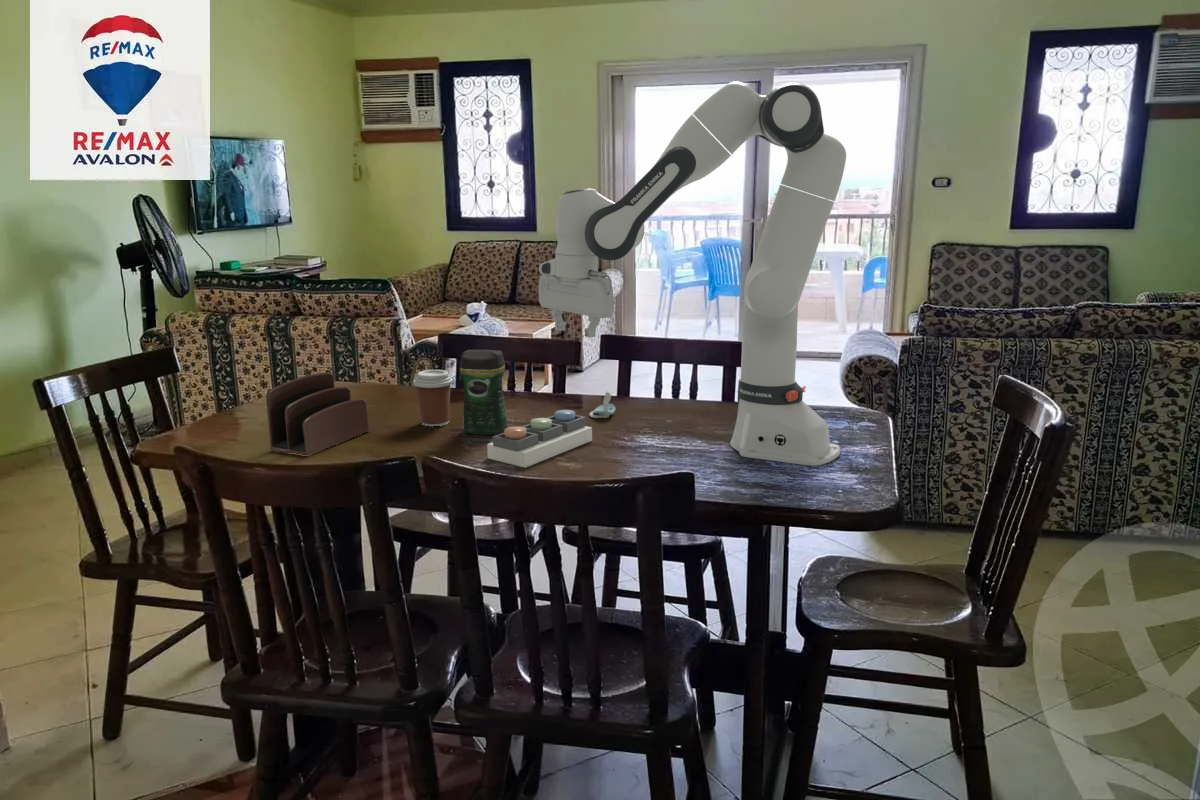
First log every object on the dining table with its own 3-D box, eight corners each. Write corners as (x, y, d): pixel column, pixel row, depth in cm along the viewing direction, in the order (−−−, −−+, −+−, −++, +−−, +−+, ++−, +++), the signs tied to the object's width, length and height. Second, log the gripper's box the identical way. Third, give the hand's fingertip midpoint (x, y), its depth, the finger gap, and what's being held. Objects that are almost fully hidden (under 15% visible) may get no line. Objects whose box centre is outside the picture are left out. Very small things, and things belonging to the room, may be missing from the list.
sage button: (556, 427, 175) (555, 420, 175) (542, 432, 172) (542, 424, 171) (539, 424, 178) (539, 416, 177) (526, 428, 174) (526, 421, 174)
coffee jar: (511, 427, 192) (508, 347, 187) (500, 437, 184) (497, 354, 180) (470, 425, 194) (467, 346, 189) (458, 434, 186) (454, 352, 182)
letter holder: (270, 452, 175) (263, 386, 171) (335, 427, 193) (330, 367, 189) (307, 458, 171) (301, 391, 168) (370, 432, 189) (365, 371, 185)
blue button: (579, 419, 181) (579, 411, 181) (566, 423, 178) (566, 416, 178) (563, 415, 184) (563, 408, 184) (550, 420, 180) (550, 413, 180)
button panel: (592, 440, 182) (592, 418, 180) (524, 467, 164) (523, 443, 163) (556, 432, 187) (556, 411, 186) (487, 458, 170) (486, 434, 169)
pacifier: (586, 420, 199) (611, 420, 197) (585, 394, 197) (610, 394, 196) (592, 412, 206) (616, 412, 204) (591, 387, 204) (616, 387, 203)
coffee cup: (412, 428, 191) (408, 377, 188) (419, 418, 200) (416, 368, 197) (452, 428, 191) (449, 377, 188) (457, 417, 200) (455, 368, 197)
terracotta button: (531, 436, 169) (530, 428, 168) (516, 441, 165) (516, 433, 165) (514, 432, 171) (514, 425, 171) (499, 437, 168) (499, 430, 168)
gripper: (622, 272, 170) (619, 339, 174) (556, 263, 184) (555, 325, 188) (600, 273, 166) (597, 342, 169) (533, 264, 180) (533, 328, 184)
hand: (574, 333), depth 179 cm, fingers open, 8 cm apart
